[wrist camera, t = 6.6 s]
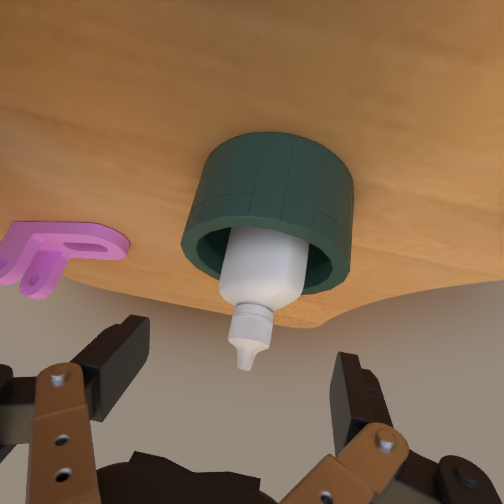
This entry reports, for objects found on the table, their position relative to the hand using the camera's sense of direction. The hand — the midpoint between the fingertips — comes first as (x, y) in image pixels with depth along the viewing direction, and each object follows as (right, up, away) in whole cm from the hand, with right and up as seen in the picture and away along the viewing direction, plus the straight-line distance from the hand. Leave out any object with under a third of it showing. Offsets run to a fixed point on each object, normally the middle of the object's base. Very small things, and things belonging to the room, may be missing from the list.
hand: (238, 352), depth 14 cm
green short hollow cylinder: (+2, +9, +10) cm, 14 cm away
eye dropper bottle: (+2, +8, +10) cm, 13 cm away
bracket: (-19, +6, +24) cm, 31 cm away
